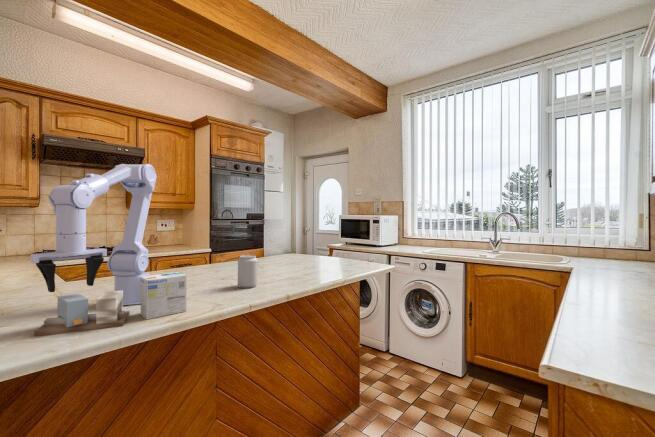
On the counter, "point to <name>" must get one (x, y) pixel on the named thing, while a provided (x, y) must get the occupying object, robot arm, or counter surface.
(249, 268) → the can
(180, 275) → the light bulb box
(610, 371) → the counter surface
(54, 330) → the board
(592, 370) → the counter surface
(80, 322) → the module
